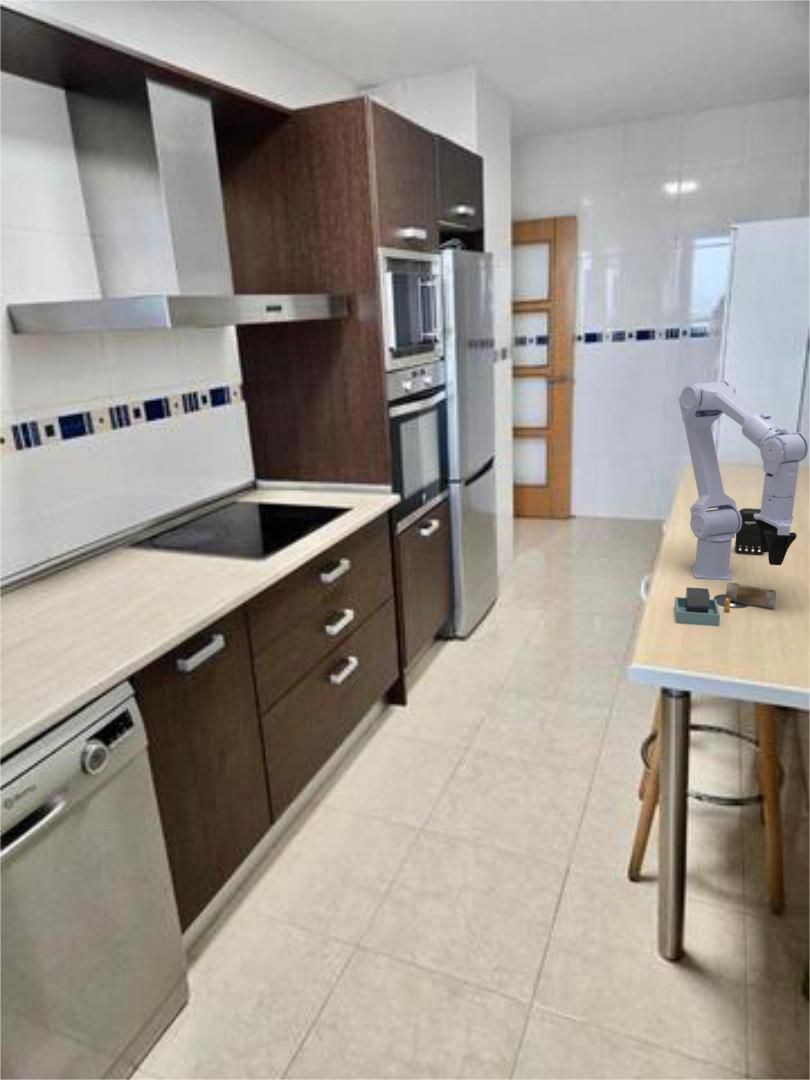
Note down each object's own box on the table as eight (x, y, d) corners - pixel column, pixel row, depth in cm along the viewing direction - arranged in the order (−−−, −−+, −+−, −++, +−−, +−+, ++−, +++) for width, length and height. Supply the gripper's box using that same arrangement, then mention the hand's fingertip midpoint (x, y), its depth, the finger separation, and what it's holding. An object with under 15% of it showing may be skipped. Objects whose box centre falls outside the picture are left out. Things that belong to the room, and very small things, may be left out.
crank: (724, 599, 146) (725, 585, 145) (727, 595, 148) (728, 581, 147) (773, 608, 140) (775, 593, 139) (775, 604, 142) (777, 590, 141)
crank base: (711, 594, 150) (713, 581, 150) (747, 597, 148) (748, 584, 147) (716, 612, 142) (717, 598, 141) (754, 615, 140) (755, 601, 139)
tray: (674, 607, 145) (675, 596, 144) (715, 610, 143) (716, 599, 142) (676, 622, 138) (676, 611, 137) (718, 626, 136) (720, 615, 135)
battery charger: (733, 554, 173) (738, 510, 170) (733, 550, 177) (737, 506, 173) (765, 557, 171) (770, 512, 167) (764, 552, 174) (769, 508, 170)
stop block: (684, 610, 143) (686, 587, 141) (705, 611, 142) (707, 588, 140) (685, 617, 139) (687, 594, 138) (707, 619, 138) (709, 596, 136)
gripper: (749, 485, 147) (743, 546, 151) (764, 503, 134) (757, 569, 138) (786, 485, 145) (778, 547, 150) (805, 504, 132) (796, 571, 136)
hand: (770, 558), depth 144 cm, fingers open, 7 cm apart
